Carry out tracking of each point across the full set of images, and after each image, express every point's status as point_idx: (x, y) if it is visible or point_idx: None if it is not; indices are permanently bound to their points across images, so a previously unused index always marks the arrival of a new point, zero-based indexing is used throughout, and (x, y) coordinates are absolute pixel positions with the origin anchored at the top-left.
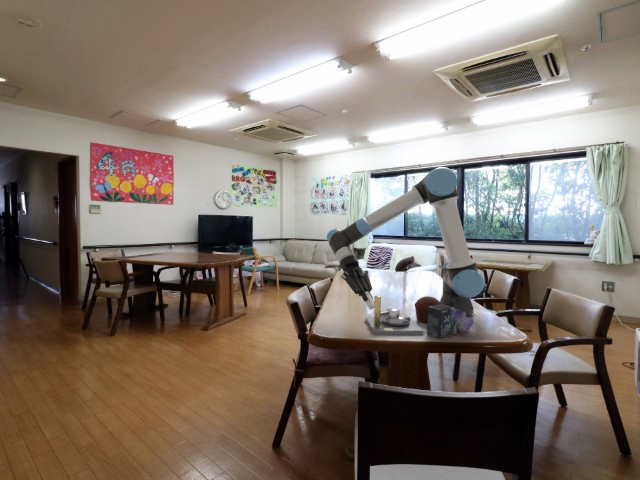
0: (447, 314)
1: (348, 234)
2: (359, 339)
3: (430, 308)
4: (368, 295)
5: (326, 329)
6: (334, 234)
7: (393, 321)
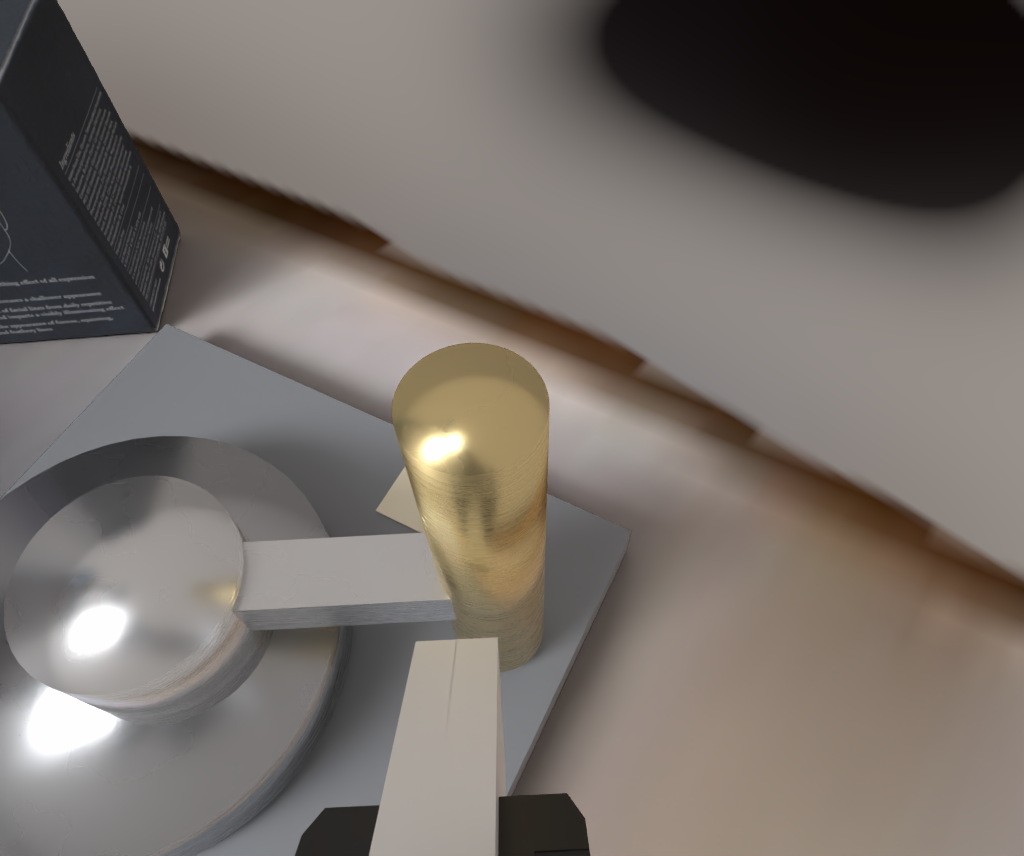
0: None
1: None
2: (854, 513)
3: (15, 77)
4: (450, 831)
5: None
6: None
7: (307, 504)
